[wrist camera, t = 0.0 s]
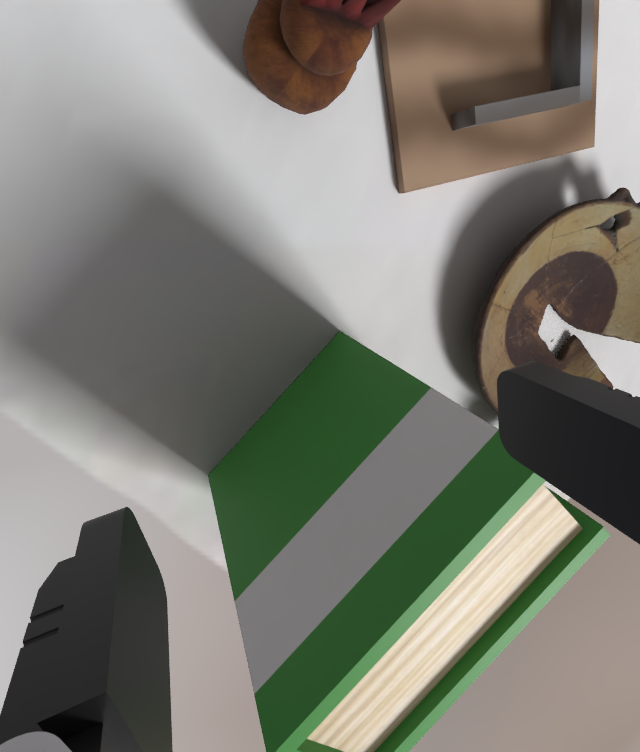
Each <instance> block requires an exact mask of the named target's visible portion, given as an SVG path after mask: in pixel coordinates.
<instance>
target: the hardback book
mask: <svg viewBox="0 0 640 752" xmlns="http://www.w3.org/2000/svg"><path fill="white" fill-rule="evenodd" d="M208 477H209V482H210V487H211V492H212V496H213V501H214V506H215V511H216V515H217V520H218V525H219V530H220V534H221V539H222V544H223V548H224V553H225V558H226V563H227V567H228V572H229V577H230V581H231V586H232V591H233V596H234V600H235V605H236V610H237V614H238V620H239V624H240V629H241V634H242V638H243V643H244V648H245V653H246V657H247V662H248V667H249V671H250V676H251V681H252V686H253V691H254V695H255V700H256V705H257V710H258V714H259V719H260V724H261V728H262V733H263V738H264V742H265V747H266V752H409V751H410V750H411V748H412V747H413V746H414V745H415V744H416V743H417V742H418V741H419V740H420V739H421V737H423V736H424V735H425V733H426V732H427V731H428V730H429V729H430V728H431V727H432V726H433V725H434V724H435V723H436V722H437V721H438V720H439V718H440V717H441V716H442V715H443V714H444V713H445V712H446V711H447V710H448V709H449V708H450V707H451V706H452V705H453V703H454V702H455V701H456V700H457V699H458V698H459V697H460V696H461V695H462V694H463V693H464V691H466V690H467V688H468V687H469V686H470V685H471V684H472V683H473V682H474V681H475V680H476V679H477V677H479V676H480V674H481V673H482V672H483V671H484V670H485V669H486V668H487V667H488V666H489V665H490V664H491V663H492V662H493V661H494V660H495V658H496V657H497V656H498V655H499V654H500V653H501V652H502V651H503V650H504V649H505V648H506V646H508V644H509V643H510V642H511V641H512V640H513V639H514V638H515V637H516V636H517V635H518V634H519V633H520V632H521V631H522V629H523V628H524V627H525V626H526V625H527V624H528V623H529V622H530V621H531V620H532V619H533V618H534V617H535V616H536V614H537V613H538V612H539V611H540V610H541V609H542V608H543V607H544V606H545V605H546V604H547V603H548V602H549V600H550V599H551V598H552V597H553V596H554V595H555V594H556V593H557V592H558V591H559V590H560V588H562V587H563V585H564V584H565V583H566V582H567V581H568V580H569V579H570V578H571V577H572V576H573V575H574V574H575V573H576V571H577V570H578V569H579V568H580V567H581V566H582V565H583V564H584V563H585V562H586V561H587V560H588V559H589V558H590V556H591V555H592V554H593V553H594V552H595V551H596V550H597V549H598V548H599V547H600V546H601V545H602V543H604V542H605V540H606V539H607V538H608V537H609V536H610V533H609V532H608V531H607V530H606V529H605V528H604V527H603V526H602V525H601V524H599V523H598V522H596V521H595V520H593V519H592V518H590V517H589V516H588V515H586V514H585V513H583V512H582V511H580V510H579V509H577V508H576V507H575V506H573V505H572V504H570V503H569V502H567V501H566V500H564V499H563V498H562V497H560V496H559V495H557V494H556V493H554V492H553V491H551V490H550V489H549V488H547V487H546V486H544V484H543V483H544V482H545V481H546V480H544V479H543V478H541V477H540V476H538V475H537V474H536V473H534V472H533V471H531V470H530V469H528V468H527V467H525V466H524V465H522V464H521V463H519V462H518V461H516V460H515V459H514V458H512V457H511V456H510V455H509V453H508V452H507V451H506V449H505V448H504V446H503V444H502V442H501V439H500V435H499V429H497V428H496V427H494V426H492V425H491V424H489V423H488V422H486V421H484V420H483V419H481V418H480V417H478V416H476V415H475V414H473V413H472V412H470V411H468V410H467V409H465V408H463V407H462V406H460V405H459V404H457V403H455V402H454V401H452V400H451V399H449V398H447V397H446V396H444V395H443V394H441V393H439V392H438V391H436V390H434V389H433V388H431V387H430V386H428V385H426V384H425V383H423V382H422V381H420V380H418V379H417V378H415V377H414V376H412V375H410V374H409V373H407V372H405V371H404V370H402V369H401V368H399V367H397V366H396V365H394V364H393V363H391V362H389V361H388V360H386V359H385V358H383V357H381V356H380V355H378V354H376V353H375V352H373V351H372V350H370V349H368V348H367V347H365V346H364V345H362V344H360V343H359V342H357V341H356V340H354V339H352V338H351V337H349V336H347V335H346V334H344V333H343V332H341V331H339V332H338V334H337V335H336V336H335V337H334V338H333V339H332V340H331V341H330V342H329V343H328V345H327V346H326V347H325V348H324V349H323V350H322V351H321V352H320V353H319V354H318V355H317V357H316V358H315V359H314V360H313V361H312V362H311V363H310V364H309V365H308V366H307V367H306V369H305V370H304V371H303V372H302V373H301V374H300V375H299V376H298V377H297V378H296V380H295V381H294V382H293V383H292V384H291V385H290V386H289V387H288V388H287V389H286V390H285V392H284V393H283V394H282V395H281V396H280V397H279V398H278V399H277V400H276V401H275V403H274V404H273V405H272V406H271V407H270V408H269V409H268V410H267V411H266V412H265V413H264V415H263V416H262V417H261V418H260V419H259V420H258V421H257V422H256V423H255V424H254V426H253V427H252V428H251V429H250V430H249V431H248V432H247V433H246V434H245V435H244V436H243V438H242V439H241V440H240V441H239V442H238V443H237V444H236V445H235V446H234V447H233V448H232V450H231V451H230V452H229V453H228V454H227V455H226V456H225V457H224V458H223V459H222V461H221V462H220V463H219V464H218V465H217V466H216V467H215V468H214V469H213V470H212V471H211V473H210V474H209V475H208Z"/></svg>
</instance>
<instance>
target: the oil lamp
mask: <svg viewBox="0 0 640 752" xmlns="http://www.w3.org/2000/svg"><path fill="white" fill-rule="evenodd" d="M612 216H614V218H615V222H614V225H613V226H612V228H610V229H602V228H601V227H600V225H601V224H602V223H603V222H605V221H606V220H607V219H609V218H610V217H612ZM548 304H551V305H552V306H553V307H554V309H555V310H556V311H557V313H558V314H559V315H560V316H561V317H562V319H564V321H565V322H567V323H568V324H569V325H572V326H573V327H575V328H577V329H579V330H583V331H586V332H591V333H595V334H599V335H603V336H609V337H615V338H618V339H622V340H627V341H633V342H635V343H640V202H639V203H635V201H634V200H633V198H632V197H631V195H630V192H629V190H628V189H626V188H619V189H617V191H616V192H614V193H613V194H611V195H610V196H609V197H608V198H606V199H595V200H590V201H585V202H582V203H578V204H575V205H572V206H570V207H567V208H565V209H563V210H561V211H559V212H557V213H556V214H554V215H553V216H551V217H549V218H548V219H547V220H545V221H544V222H543V223H541V224H540V225H539V226H538V227H536V228H535V229H534V230H533V231H532V232H531V233H529V234H528V235H527V236H526V237H525V238H524V239H523V241H521V243H520V244H519V245H518V246H517V247H516V248H515V250H514V251H513V252H512V253H511V254H510V256H509V257H508V258H507V259H506V261H505V262H504V264H503V265H502V267H501V269H500V270H499V272H498V274H497V275H496V278H495V279H494V281H493V283H492V285H491V287H490V289H489V291H488V293H487V295H486V297H485V300H484V302H483V304H482V307H481V310H480V312H479V315H478V319H477V324H476V329H475V334H474V342H473V352H474V354H473V355H474V366H475V371H476V375H477V379H478V382H479V385H480V388H481V390H482V393H483V395H484V397H485V398H486V400H487V402H488V403H489V404H490V406H491V407H492V408H493V409H494V410H495V411H496V412H497V413H498V400H497V378H498V376H499V374H500V373H501V372H503V371H505V370H508V369H511V368H514V367H516V366H519V365H522V364H525V363H527V362H530V361H537V362H540V363H542V364H545V365H548V366H550V367H553V368H555V369H558V370H561V371H563V372H566V373H568V374H571V375H574V376H579V377H585V378H589V379H592V380H595V381H597V382H600V383H603V384H605V385H608V386H611V387H612V389H613V386H612V383H611V382H610V381H609V380H608V379H607V378H606V376H605V374H604V373H602V371H601V370H600V369H599V367H598V365H597V364H596V362H595V361H594V360H593V359H592V358H591V356H590V354H589V353H588V351H587V350H586V349H585V347H584V345H583V344H582V342H581V341H580V340H579V339H578V338H577V337H576V336H575V335H572V336H571V337H569V339H568V340H567V342H566V343H565V344H564V345H563V347H562V349H561V350H560V351H559V357H558V359H556V358H555V356H554V355H553V354H552V353H551V351H550V350H549V349H548V347H547V345H546V342H544V341H543V340H542V339H541V338H540V336H539V334H538V330H539V326H540V325H541V321H542V319H543V316H544V312H545V309H546V307H547V305H548ZM553 340H554V339H552V341H553ZM552 341H551V342H552Z"/></svg>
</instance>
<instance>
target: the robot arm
mask: <svg viewBox="0 0 640 752" xmlns="http://www.w3.org/2000/svg"><path fill="white" fill-rule="evenodd" d="M497 400H498V420H499V435H500V439H501V442H502V444H503V446H504V448H505V449H506V451H507V452H508V453H509V455H510V456H511V457H512V458H514V459H515V460H516V461H518V462H519V463H521V464H522V465H524V466H525V467H527V468H528V469H530V470H531V471H533V472H534V473H536V474H537V475H538V476H540V477H541V478H543V479H544V480H546V481H547V482H549V483H550V484H552V485H553V486H555V487H556V488H558V489H559V490H561V491H562V492H563V493H565V494H566V495H568V496H569V497H571V498H572V499H574V500H575V501H577V502H578V503H580V504H581V505H583V506H584V507H586V508H587V509H589V510H590V511H592V512H593V513H594V514H596V515H598V516H599V517H600V518H602V519H603V520H605V521H606V522H608V523H609V524H611V525H612V526H614V527H615V528H617V529H618V530H619V531H621V532H623V533H624V534H625V535H627V536H628V537H630V538H631V539H633V540H634V541H636V542H637V543H639V544H640V397H637V396H636V397H632V395H631V394H629V393H627V392H624V391H621V390H619V389H615V390H613V389H612V387H611V386H608V385H605V384H603V383H600V382H597V381H595V380H592V379H589V378H585V377H579V376H574V375H571V374H568V373H566V372H563V371H561V370H558V369H555V368H553V367H550V366H548V365H545V364H542V363H540V362H537V361H530V362H527V363H525V364H522V365H519V366H516V367H514V368H511V369H508V370H505V371H503V372H501V373H500V374H499V376H498V378H497ZM30 619H31V623H28V627H27V630H26V633H25V636H24V639H23V644H24V647H23V648H21V649H20V652H19V656H18V659H17V662H16V665H15V669H14V672H13V675H12V678H11V682H10V685H9V688H8V692H7V695H6V699H5V701H4V705H3V708H2V711H1V715H0V752H172V731H171V730H172V727H171V701H170V700H171V698H170V672H169V643H168V614H167V597H166V591H165V587H164V582H163V579H162V576H161V573H160V570H159V568H158V565H157V563H156V561H155V559H154V557H153V555H152V552H151V550H150V548H149V546H148V544H147V542H146V540H145V537H144V535H143V533H142V531H141V529H140V527H139V524H138V522H137V520H136V518H135V516H134V514H133V512H132V511H131V510H130V509H129V508H128V507H125V508H123V509H120V510H117V511H114V512H112V513H109V514H106V515H103V516H101V517H98V518H95V519H92V520H90V521H87V522H85V523H84V524H83V525H82V528H81V532H80V537H79V541H78V546H77V550H76V554H75V556H74V557H72V558H69V559H66V560H64V561H61V562H59V563H58V564H57V565H56V567H55V568H54V569H53V571H52V572H51V574H50V575H49V576H48V578H47V579H46V580H45V582H44V583H43V585H42V586H41V587H40V589H39V590H38V594H37V597H36V600H35V603H34V607H33V610H32V613H31V617H30Z"/></svg>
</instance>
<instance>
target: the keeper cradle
mask: <svg viewBox="0 0 640 752" xmlns="http://www.w3.org/2000/svg"><path fill="white" fill-rule="evenodd" d="M598 21H599V0H401V1H400V2H399V3H398V4H397V5H396V6H395V7H394V8H393V9H392V10H391V11H390V12H389V13H388V14H386V15H385V16H384V17H383V18H382V19H381V20H380V21H379V22H378V29H379V37H380V45H381V53H382V61H383V69H384V77H385V85H386V93H387V101H388V109H389V117H390V125H391V133H392V141H393V149H394V157H395V165H396V173H397V181H398V189H399V193H406V192H410V191H414V190H419V189H423V188H427V187H431V186H435V185H439V184H443V183H447V182H451V181H456V180H460V179H464V178H468V177H472V176H476V175H480V174H484V173H488V172H493V171H497V170H501V169H505V168H509V167H513V166H517V165H521V164H525V163H530V162H534V161H538V160H542V159H546V158H550V157H554V156H558V155H562V154H567V153H571V152H575V151H579V150H583V149H587V148H591V147H594V138H595V109H596V79H597V50H598Z"/></svg>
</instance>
